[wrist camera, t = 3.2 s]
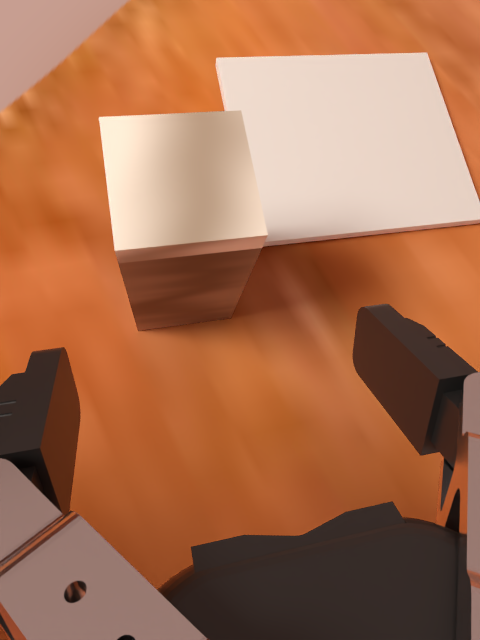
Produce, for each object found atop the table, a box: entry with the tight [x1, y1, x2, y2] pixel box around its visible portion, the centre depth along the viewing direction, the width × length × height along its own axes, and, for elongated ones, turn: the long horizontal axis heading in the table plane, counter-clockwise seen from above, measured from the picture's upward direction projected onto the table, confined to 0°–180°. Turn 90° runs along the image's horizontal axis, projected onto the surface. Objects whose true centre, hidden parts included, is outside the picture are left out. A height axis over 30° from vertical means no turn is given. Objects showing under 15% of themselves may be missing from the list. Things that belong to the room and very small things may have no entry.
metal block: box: [99, 110, 268, 331], centre depth 20 cm, size 5×5×10 cm
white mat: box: [216, 53, 480, 246], centre depth 29 cm, size 15×13×1 cm
